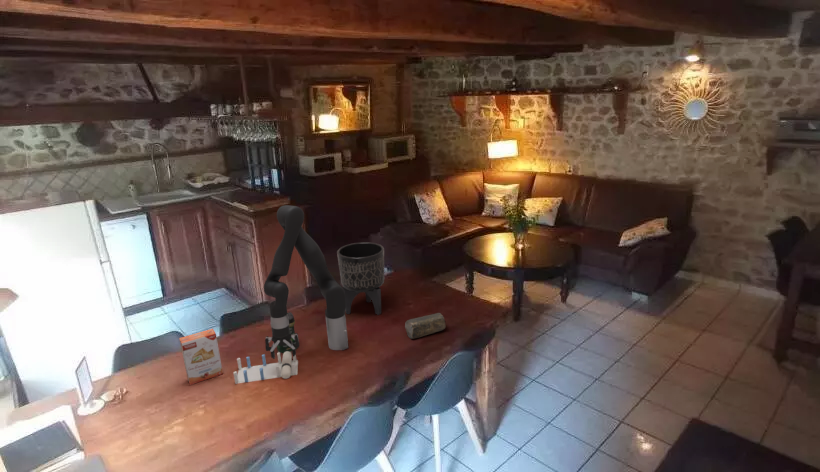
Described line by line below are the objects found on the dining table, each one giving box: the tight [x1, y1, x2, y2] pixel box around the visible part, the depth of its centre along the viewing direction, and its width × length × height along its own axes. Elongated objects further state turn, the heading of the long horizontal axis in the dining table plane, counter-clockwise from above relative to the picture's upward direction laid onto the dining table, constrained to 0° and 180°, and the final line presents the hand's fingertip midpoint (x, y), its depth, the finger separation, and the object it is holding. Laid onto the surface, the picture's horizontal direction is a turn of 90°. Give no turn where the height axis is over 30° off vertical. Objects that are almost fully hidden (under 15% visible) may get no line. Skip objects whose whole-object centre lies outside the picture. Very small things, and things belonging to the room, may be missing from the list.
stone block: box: [404, 312, 446, 340], centre depth 241 cm, size 20×9×10 cm
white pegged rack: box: [233, 351, 299, 385], centre depth 212 cm, size 26×13×6 cm, turn 101°
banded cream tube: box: [280, 351, 293, 380], centre depth 214 cm, size 16×4×4 cm, turn 11°
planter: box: [336, 241, 385, 316], centre depth 264 cm, size 25×25×36 cm
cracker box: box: [179, 328, 224, 386], centre depth 209 cm, size 14×6×21 cm, turn 124°
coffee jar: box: [276, 311, 298, 354], centre depth 229 cm, size 10×8×19 cm
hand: (283, 356), depth 213 cm, fingers open, 8 cm apart
